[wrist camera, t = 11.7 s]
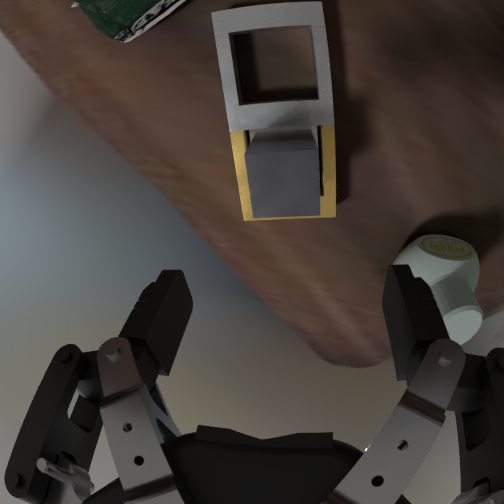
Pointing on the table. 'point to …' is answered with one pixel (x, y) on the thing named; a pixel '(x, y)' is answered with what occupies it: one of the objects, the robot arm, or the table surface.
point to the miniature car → (124, 15)
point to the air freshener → (448, 280)
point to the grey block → (283, 174)
